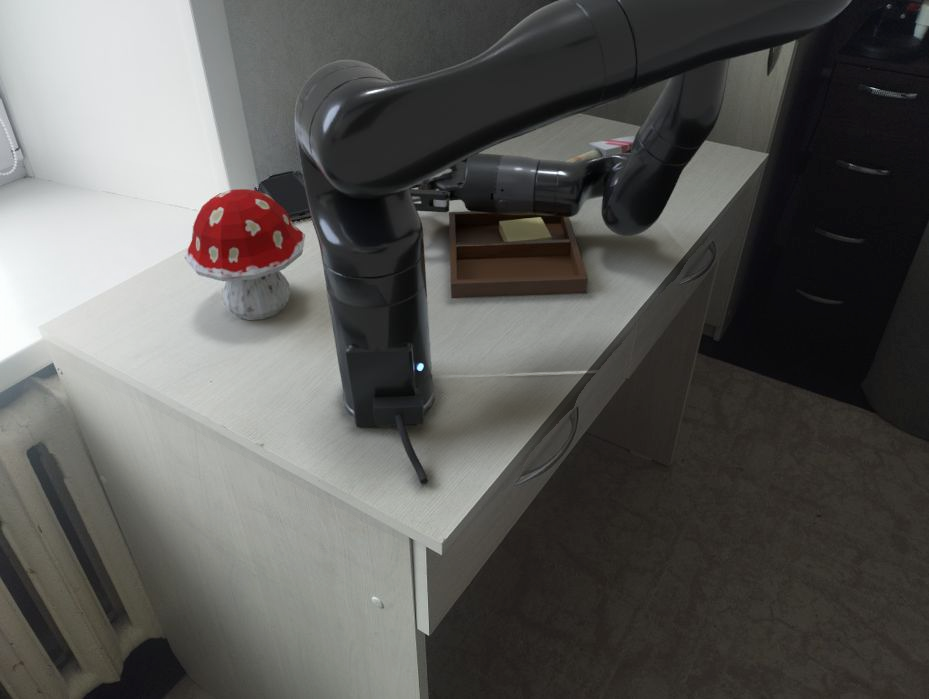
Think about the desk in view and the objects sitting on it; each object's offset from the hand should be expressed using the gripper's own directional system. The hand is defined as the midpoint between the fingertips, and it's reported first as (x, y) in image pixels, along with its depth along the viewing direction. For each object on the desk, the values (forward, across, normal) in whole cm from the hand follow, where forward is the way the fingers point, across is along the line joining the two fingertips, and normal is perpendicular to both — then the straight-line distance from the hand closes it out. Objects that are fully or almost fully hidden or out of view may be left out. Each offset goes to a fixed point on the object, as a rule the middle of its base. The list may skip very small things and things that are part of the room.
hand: (385, 175), depth 102 cm
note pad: (-19, -1, +8) cm, 21 cm away
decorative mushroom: (+10, +21, +9) cm, 25 cm away
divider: (-18, +4, +9) cm, 21 cm away
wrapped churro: (-26, -30, +9) cm, 40 cm away
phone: (+19, -8, +9) cm, 22 cm away
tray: (-18, +4, +9) cm, 21 cm away
